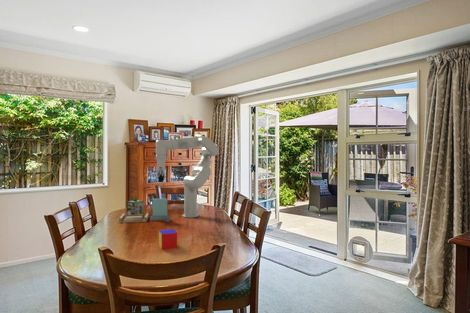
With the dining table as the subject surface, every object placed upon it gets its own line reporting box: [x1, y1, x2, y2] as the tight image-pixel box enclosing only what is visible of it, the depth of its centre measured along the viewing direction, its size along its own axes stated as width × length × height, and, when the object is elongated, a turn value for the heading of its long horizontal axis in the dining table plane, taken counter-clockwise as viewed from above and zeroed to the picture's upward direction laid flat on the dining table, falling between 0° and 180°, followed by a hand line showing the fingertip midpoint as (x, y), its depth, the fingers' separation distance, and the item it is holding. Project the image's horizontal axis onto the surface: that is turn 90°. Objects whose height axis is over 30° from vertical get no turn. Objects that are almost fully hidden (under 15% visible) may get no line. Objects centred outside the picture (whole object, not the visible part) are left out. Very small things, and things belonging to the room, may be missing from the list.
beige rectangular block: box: [124, 216, 143, 223], centre depth 218 cm, size 5×12×3 cm, turn 100°
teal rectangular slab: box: [152, 198, 168, 216], centre depth 224 cm, size 2×10×15 cm, turn 101°
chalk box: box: [126, 196, 145, 215], centre depth 242 cm, size 9×9×15 cm
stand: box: [149, 214, 171, 223], centre depth 224 cm, size 8×14×4 cm, turn 100°
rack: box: [118, 212, 150, 224], centre depth 223 cm, size 16×18×4 cm
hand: (161, 181), depth 224 cm, fingers open, 9 cm apart
